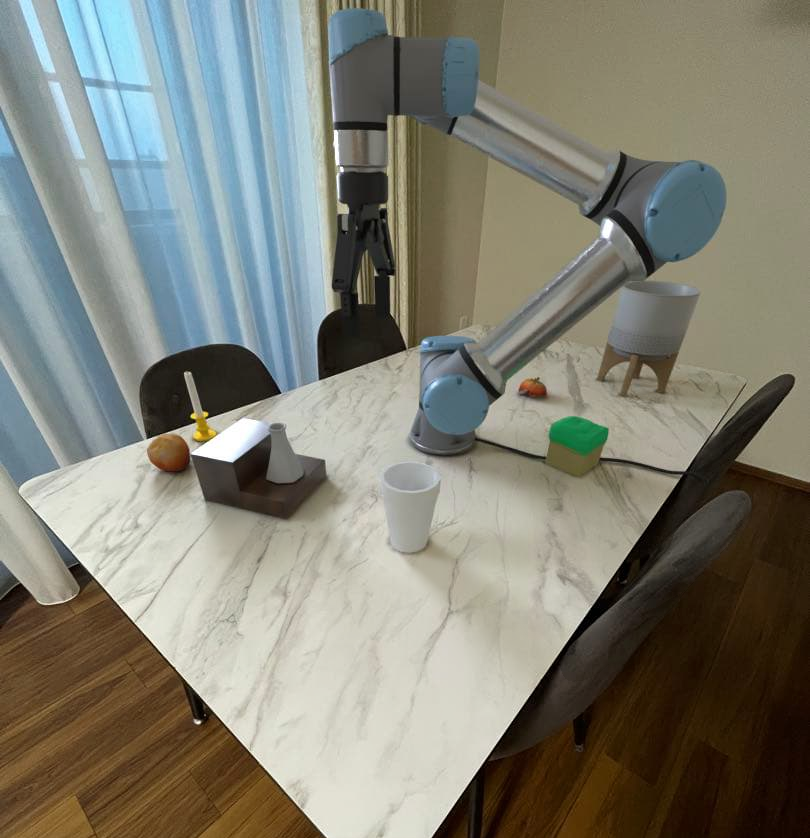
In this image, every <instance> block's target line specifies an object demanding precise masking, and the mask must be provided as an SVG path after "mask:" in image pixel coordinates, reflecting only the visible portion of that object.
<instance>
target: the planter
mask: <svg viewBox="0 0 810 838" xmlns="http://www.w3.org/2000/svg"><path fill="white" fill-rule="evenodd" d="M701 293H702V291H701V289H699V288H697V287H695V286H693V285H688V284H684V283H679V282H672V281H662V280H644V281H629V282H627V283H626V284H624V285H623V286H622V287H621V288H620V293H619V296H618V300H617V304H616V307H615V311H614V315H613V318H612V322H611V325H610V329H609V333H608V335H607V336H608V337H607V341H606V344H605V347H604V350H603V351H604V352H603V354H602V355H603V356H602V358H601V363H600V367H599V369H598V370H599V371H598V373H597V374H598V375H597V378H596V381H600V382H604V381H605V378H606V377H607V374H608V373H609V372H610V370H611V369H613V368H614V367H616V366H617V365H619V364H622V363H626V362H629V363H628V367H627V370H626V373H625V376H624V379H623V383H622V386H621V389H620V393H619V397H624V398H626V396H627V395H628V392H629V388H630V386H631V383H632V380H633V379H637V380H638V379H639V378H640V375H641V372H642V369H643V366H644V365H645V366H647V367H649V368H650V369H651V370H652V372H653V373H654V374H655V376H656V381H657V389H656V393H657V394H664V393H665V391H666V389H667V386H668V383H669V380H670V378H671V375H672V372H673V369H674V366H675V364H676V362H677V358H678V356H679V353H680V350H681V347H682V345H683V342H684V339H685V337H686V334H687V331H688V328H689V325H690V323H691V320H692V318H693V315H694V312H695V309H696V307H697V305H698V301H699V298H700V296H701Z"/></svg>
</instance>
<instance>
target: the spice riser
mask: <svg viewBox="0 0 810 838" xmlns="http://www.w3.org/2000/svg"><path fill="white" fill-rule="evenodd" d="M271 424H273V423H272V422H266V421H261V420H256V419H250V418H245V417H243V418H241V419H240V420H238V421H236V422H235V423H234V424H232V425H231V426H229V427H228V428H226V429H225V430H223V431H222V432H220V433H219V434H217V436H216V437H215V438H213V439H212V440H209V441H206V443H204V444H203V445H201V446H199V447H198V448H197V449H195V450H194V451H192V452H191V453H190V459H191V460H192V461H191V462H192V463H193V464H192V465H193V467H194V470H195V474H196V476H197V480H198V482H199V486H200V490H201V493H202V496H203V499H204V501H208V502H212V503H215V504H216V503H217V504H220V505H224V506H229V507H232V508H236V509H241V510H245V511H249V512H254V513H256V514H262V515H266V516H270V517H274V518H279V519H282V520H288V518H290V516H292V515H293V513H295V511H296V510H297V509H298V508H299V507H300V506H301V505H302V504H303V503H304V501H305V500H306V499H307V498H308V497H309V496H310V495H311V494H312V493H313V492H314V491H315V490H316V489H317V488H318V487H319V485H321V483H322V482H323V481H324V480H325V479H326V478H327V476H328V475H327V467H326V459H323V458H318V457H313V456H308V455H303V454H302V455H301V454H298V453H295V454H296V456H297V457H298V459H299V461H300V462H301V464H302V465H303V467H304V472H303V476H302V477H300V478H299V479H298V480H296V481H295V482H292V483H275V482H273V481H270V480H267V479H266V477H267V471H268V466H269V461H270V454H271V433H270V432H269V431H268V427H269V425H271Z"/></svg>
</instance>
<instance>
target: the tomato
mask: <svg viewBox="0 0 810 838" xmlns="http://www.w3.org/2000/svg"><path fill="white" fill-rule="evenodd" d="M540 379H541V377H539V376H537V377H535V378H526V379H525V380H523V381H522V382H521V383H520V385H519V388H518V393H520V392H525V391H529V392H526V394H528V395H529V397H530V398H533V397H547V395H548V390H547V386H546V385H545V384H544V383H543V382H542V381H540Z"/></svg>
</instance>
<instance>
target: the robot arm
mask: <svg viewBox="0 0 810 838" xmlns="http://www.w3.org/2000/svg"><path fill="white" fill-rule="evenodd" d="M387 25H388V24H387V19H386V16H385V15H384V14H383V13H382V12H380V11H378V10H376V9H365V8H362V7H361V8H359V7H358V8H357V7H355V8H354V7H353V8H344V9H343V8H342V9H340V10H337V11H335V12H333V14H331V16H330V18H329V21H328V27H327V28H328V29H327V30H328V34H327V35H328V69H329V70H328V71H329V83H330V84H329V85H330V97H331V109H332V121H333V130H334V131H333V132H334V135H333V136H334V140H333V141H332V147H333V148H334V150H335V164H336V166H337V167H338V168H340V172H339V171H338V172H337V175H336V184H337V185H336V186H337V200H338V202H339V203H340V204H342V205H347V213H338V214H337V216H336V223H337V224H336V229H337V234H336V242H335V252H334V261H333V270H332V279H331V289H332V291H333V293H339V296H340V310H341V311H340V312H341V323H342V324H341V326H342V337H345V338H346V337H347V338H354V339H355V338H357V339H359V338H360V337H361V326H360V325H361V324H360V323H361V322H360V304H359V292H356V288H357V283H358V279H359V276H360V271H361V268H362V267H361V266H362V262H363V257H364V253H365V252H367V251H368V253H369V256H370V259H371V262H372V264H373V268H374V270H375V274H376V275H374V277H373V282H374V283H373V286H374V287H373V289H374V290H373V291H374V317H378V318H379V317H380V318H391V277H395V276H396V263H395V256H394V250H393V245H392V240H391V233H390V227H389V214H388V213H389V212H388V208H387V207H379V206H380V205H387V203H388V202H389V175H388V173H387V172H385V168H388V166H389V131H388V129H389V128H388V127H389V126H388V118H389V116H395V117H398V116H406V117H412V118H413V119H414V120H415V121H417V122H418V123H420V124H422V125H428V126H430V127H432V128H434V129H436V130H438V131H439V132H441V133H443V134H445V135H447V136H449V137H452V138H453V139H455V140H457V141H459V142H460V143H463V144H464V145H467V146H468V147H470V148H472V149H474V150H475V151H477V152H479V153H481V154H483V155H485V156H487V157H488V158H491V159H492V160H494V161H496V162H498V163H500V164H502V165H504V166H505V167H508V168H509V169H511V170H513V171H515V172H516V173H519V174H520V175H522V176H524V177H526V178H527V179H530V180H532V181H533V182H535V183H537V184H539V185H541V186H543V187H545V188H546V189H549V190H550V191H552V192H554V193H555V194H557V195H560V196H561V197H563V198H565V199H567V200H569V201H571V202H572V203H575V204H576V205H578V210H579V214H580V215H581V216H582V217H584V218H587V219H588V220H590V221H592V222H593V223H595V224H596V225H598V226H599V227H600V228H599V233H598V235H597V236H596V237H595V238H594V239H593V240H592V241H591V242H589V244H587V245H586V246H585V247H584V248H583V249H582V250H581V251H580V252H578V254H576V255H575V256H574V257H573V258H572V259H571V260H570V261H568V262H567V263H566V264H565V265H564V266H563V267H561V269H559V270H558V271H557V272H556V273H555V274H554V275H553V276H551V278H549V279H548V280H547V281H546V282H544V284H542V286H540V287H539V288H537V290H536V291H535V292H534V293H532V294H531V295H530V296H529V297H528V298H527V299H525V300H524V302H522V303H521V304H520V305H519V306H517V308H515V309H514V310H513V311H512V312H511V313H510V314H509V315H507V317H505V318H504V319H503V320H502V321H501V322H499V324H498V325H496V326H495V327H494V328H493V329H491V331H489V332H488V333H487V334H486V335H485V336H484V337H483V338H481V340H480V341H478V342H477V341H476V340H475V339H473V338H471V337H468V336H461V335H433V336H428V337H425V338H423V339H422V340H421V343H420V350H419V352H418V353H419V355H420V356H419V387H418V390H419V391H418V394H419V395H418V397H419V398H418V409H417V411H416V414H415V417H414V420H413V423H412V425H411V427H410V431H409V432H410V434H409V435H410V436H409V441H410V443H411V445H412V446H413V447H414V448H415V449H417V450H418V451H420V452H423V453H425V454H430V455H433V456H443V457H445V456H446V457H448V456H449V457H450V456H458V455H461V454H465V453H467V452H468V451H470V450H472V449H473V448H474V446H475V444H476V442H478V443H482V444H486V445H489V446H493V447H496V448H499V449H502V450H506V451H510V452H512V453H516V454H519V455H521V456H525V457H528V458H533V459H538V460H543V461H545V460H546V455H539V454H534V453H531V452H527V451H524V450H521V449H517V448H515V447H510V446H507V445H503V444H500V443H498V442H494V441H490V440H487V439H484V438H479V437H477V434H476V433H477V432H476V429H478V428H479V427H480V426H481V425H482V424H483V423H484V421H485V420H486V418H487V415H488V412H489V409H490V406H491V405H493V404H494V403H495V402H496V401H497V400H499V399H500V398H501V397H502V396H503V395H505V393H506V386H507V383H508V381H509V380H510V379H511V378H512V377H513V376H515V375H516V374H517V373H518V372H520V371H521V370H523V368H524V367H526V366H527V365H528V364H530V363H531V362H532V361H533V360H534V359H535V358H536V357H538V356H539V355H540V354H541V353H543V352H544V351H545V350H547V348H549V347H550V346H551V345H552V344H554V343H555V342H556V341H557V340H559V339H561V337H562V336H564V335H565V334H566V333H567V332H569V330H571V329H572V328H573V327H574V326H575V325H577V324H578V323H579V322H581V321H582V320H583V319H584V318H585V317H587V316H588V315H589V314H590V313H592V312H593V311H594V310H595V309H596V308H598V307H599V306H600V305H601V304H603V303H604V302H605V301H606V300H607V299H609V298H610V297H611V296H612V295H614V294H615V293H616V292H618V290H620V289H621V288H622V286H623V285H624V284H626V283H627V282H630V281H647V279H649V278H650V276H652V275H653V274H655V272H658V270H660V269H661V268H662V267H663V266H664V265H665V264H667V263H676V262H677V263H678V262H680V261H684V260H687V259H689V258H691V257H693V256H695V255H696V254H698V253H700V251H702V250H703V249H704V248H705V247H706V246H707V245H708V244H709V243H710V241H711V240H712V239H713V237H714V236H715V234H716V233H717V231H718V229H719V228H720V225H721V223H722V218H723V216H724V213H725V211H726V208H727V199H728V198H727V186H726V183H725V180H724V178H723V176H722V174H721V173H720V172H719V170H718V169H717V168H716V167H714V166H713V165H710V164H707V163H705V162H702V161H699V160H697V159H696V160H695V159H688V160H682V161H660V160H658V161H657V160H655V161H654V160H647V159H642V158H637V157H634V156H631V155H628V154H626V153H624V152H623V151H621V150H619V149H618V148H614V149H611V150H610V151H608V152H606V151H604V150H602V149H600V148H599V147H597V146H595V145H594V144H592V143H591V142H588V141H587V140H585V139H582V138H581V137H579V136H578V135H576V134H574V133H572V132H571V131H569V130H567V129H566V128H564V127H562V126H561V125H558V124H557V123H555V122H553V121H552V120H550V119H548V118H547V117H545V116H543V115H541V114H540V113H538V112H536V111H534V110H532V109H531V108H529V107H527V106H526V105H524V104H522V103H520V102H519V101H517V100H515V99H513V98H511V97H510V96H508V95H506V94H504V93H502V91H499V90H498V89H496V88H494V87H492V86H490V84H489V85H488V83H485V82H484V81H482V80H481V79H479V78H480V47H479V44H478V42H477V41H476V39H473V38H469V37H458V36H457V35H450V36H394V35H393V34H389V29H388V27H387ZM599 462H611V463H621V464H626V465H631V466H636V467H639V468H644V469H647V470H651V471H654V472H659V473H662V474H667V475H674V476H676V475H677V476H690V477H694V478H696V479H697V480H698V481H699V482H700V483H704V484H705V483H706V481H705V479H704V478H703V477H702V476H701V474H698V473H697V472H693V471H687V470H670V469H666V468H665V469H664V468H661V467H658V466H657V467H656V466H654V465H650V464H645V463H643V462H639V461H634V460H628V459H622V458H615V457H601V456H600V459H599Z"/></svg>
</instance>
